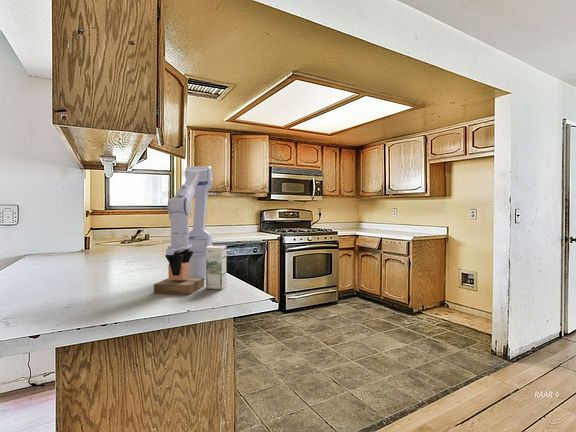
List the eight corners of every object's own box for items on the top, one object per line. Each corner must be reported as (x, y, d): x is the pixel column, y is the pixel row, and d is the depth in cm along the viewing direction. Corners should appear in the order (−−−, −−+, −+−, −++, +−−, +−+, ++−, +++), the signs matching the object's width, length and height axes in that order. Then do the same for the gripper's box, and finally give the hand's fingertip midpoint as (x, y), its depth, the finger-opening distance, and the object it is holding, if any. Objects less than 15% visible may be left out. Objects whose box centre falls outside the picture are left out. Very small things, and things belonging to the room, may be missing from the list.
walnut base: (171, 285, 119) (171, 276, 119) (204, 286, 117) (204, 277, 117) (153, 293, 107) (153, 284, 107) (189, 294, 105) (189, 285, 105)
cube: (175, 276, 115) (175, 262, 115) (189, 276, 114) (189, 262, 114) (168, 279, 110) (168, 264, 110) (182, 280, 109) (182, 264, 109)
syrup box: (227, 286, 117) (226, 244, 117) (222, 290, 112) (221, 246, 111) (211, 285, 118) (211, 244, 118) (205, 289, 112) (205, 246, 112)
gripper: (178, 231, 119) (178, 269, 120) (157, 234, 105) (157, 277, 105) (197, 231, 118) (197, 269, 119) (178, 235, 104) (178, 278, 104)
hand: (180, 273), depth 112 cm, fingers closed on cube, 5 cm apart
